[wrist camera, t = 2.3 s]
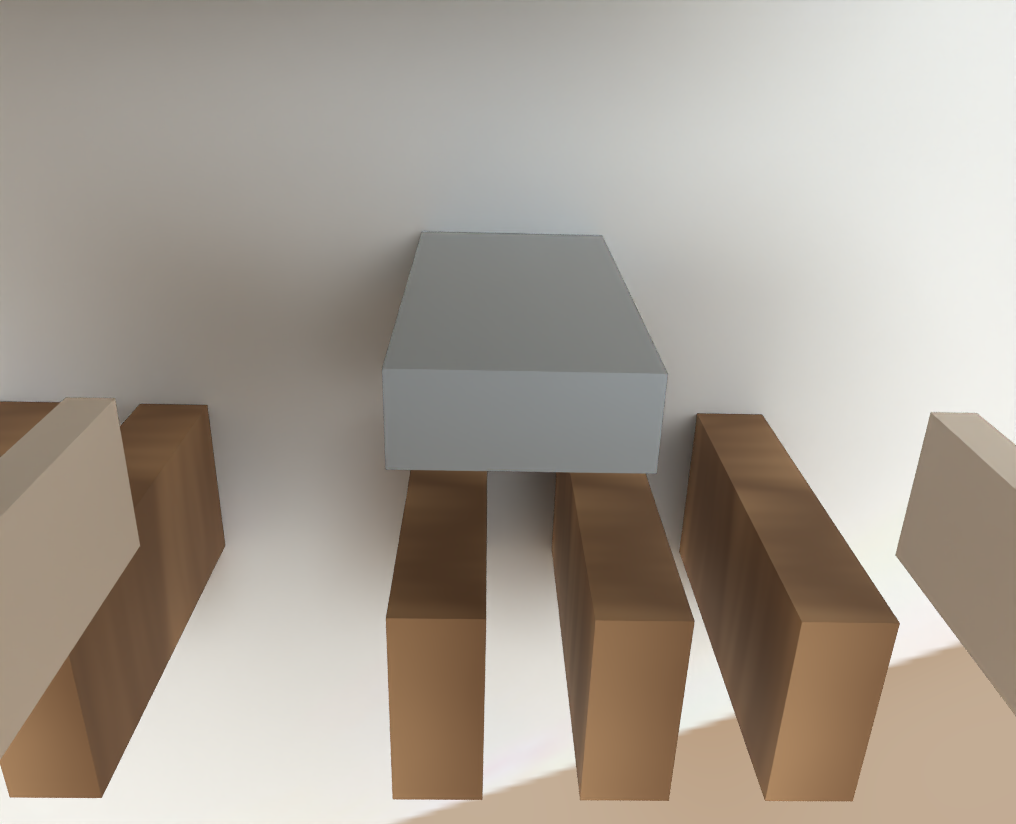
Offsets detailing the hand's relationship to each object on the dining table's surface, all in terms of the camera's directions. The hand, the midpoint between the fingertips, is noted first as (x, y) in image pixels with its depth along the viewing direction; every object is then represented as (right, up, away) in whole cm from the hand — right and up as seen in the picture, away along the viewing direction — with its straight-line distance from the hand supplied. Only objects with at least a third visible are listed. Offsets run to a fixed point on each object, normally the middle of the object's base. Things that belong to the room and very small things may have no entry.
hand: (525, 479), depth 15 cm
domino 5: (+6, -1, +13) cm, 15 cm away
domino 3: (0, +5, +10) cm, 12 cm away
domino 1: (-10, -1, +13) cm, 17 cm away
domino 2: (-2, -1, +13) cm, 13 cm away
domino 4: (+2, -1, +13) cm, 14 cm away
